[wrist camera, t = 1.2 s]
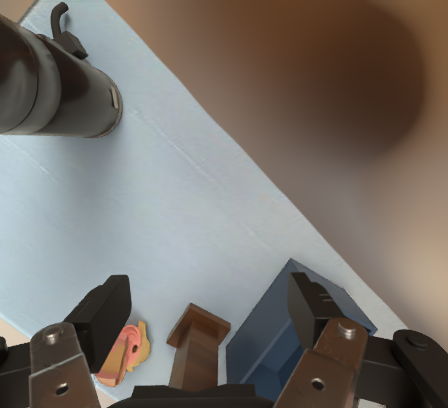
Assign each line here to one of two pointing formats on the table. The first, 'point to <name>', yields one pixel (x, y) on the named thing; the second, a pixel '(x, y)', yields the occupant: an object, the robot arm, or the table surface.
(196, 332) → the dark wooden post
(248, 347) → the blue open box
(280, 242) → the table surface
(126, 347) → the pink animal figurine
